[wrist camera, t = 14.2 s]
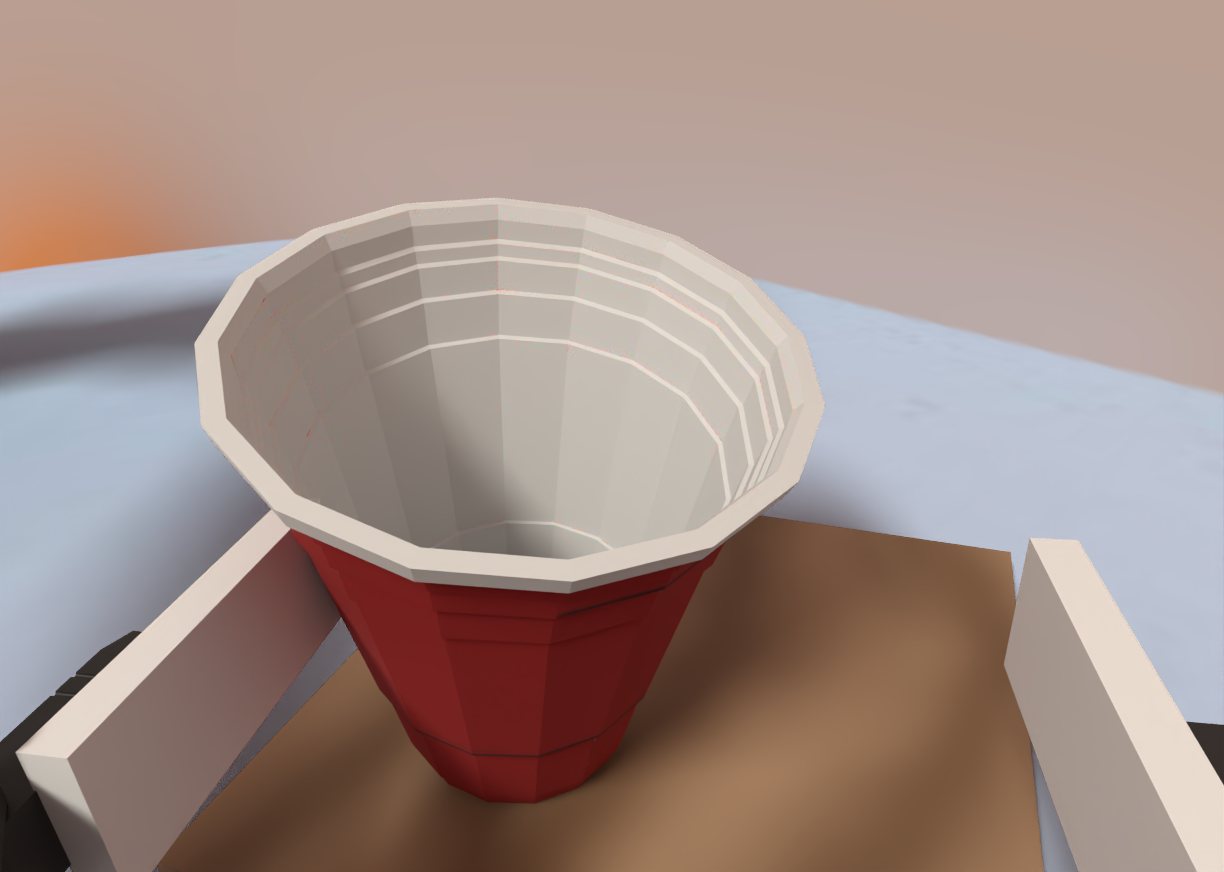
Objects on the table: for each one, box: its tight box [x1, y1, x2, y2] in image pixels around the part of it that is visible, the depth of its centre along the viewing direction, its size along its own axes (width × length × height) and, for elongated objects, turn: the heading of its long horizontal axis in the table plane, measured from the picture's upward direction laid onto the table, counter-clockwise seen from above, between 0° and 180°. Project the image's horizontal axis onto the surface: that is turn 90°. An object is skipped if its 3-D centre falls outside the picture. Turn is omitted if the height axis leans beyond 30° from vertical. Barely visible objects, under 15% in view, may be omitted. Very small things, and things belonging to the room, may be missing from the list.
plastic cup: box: [194, 198, 825, 803], centre depth 18 cm, size 11×11×12 cm
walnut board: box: [157, 516, 1044, 872], centre depth 24 cm, size 19×19×1 cm
